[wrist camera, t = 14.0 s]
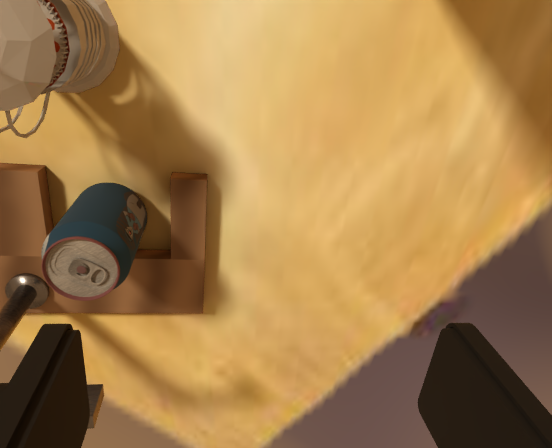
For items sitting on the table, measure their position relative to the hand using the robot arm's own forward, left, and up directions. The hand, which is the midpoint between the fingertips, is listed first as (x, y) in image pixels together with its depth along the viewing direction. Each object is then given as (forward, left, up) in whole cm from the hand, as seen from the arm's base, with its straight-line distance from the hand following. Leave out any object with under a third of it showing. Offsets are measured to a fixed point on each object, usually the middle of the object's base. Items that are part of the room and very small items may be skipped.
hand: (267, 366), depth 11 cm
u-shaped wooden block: (+13, +14, -33) cm, 38 cm away
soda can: (+11, +10, -34) cm, 37 cm away
